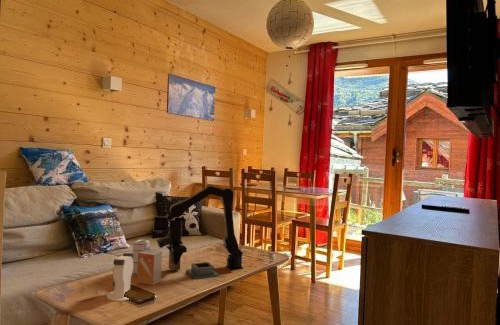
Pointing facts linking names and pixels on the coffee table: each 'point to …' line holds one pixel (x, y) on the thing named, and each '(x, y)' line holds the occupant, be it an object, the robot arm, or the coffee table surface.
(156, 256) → the small box
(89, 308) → the coffee table surface
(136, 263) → the syrup box
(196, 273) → the socket
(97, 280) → the coffee table surface
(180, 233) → the robot arm
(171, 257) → the peg
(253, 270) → the coffee table surface
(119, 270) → the white piece
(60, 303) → the coffee table surface
